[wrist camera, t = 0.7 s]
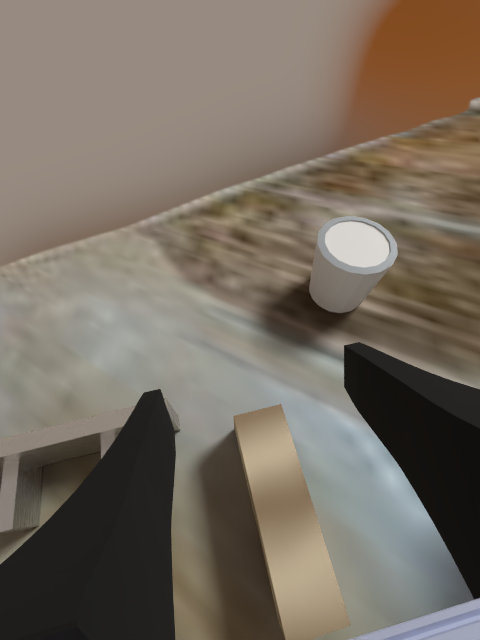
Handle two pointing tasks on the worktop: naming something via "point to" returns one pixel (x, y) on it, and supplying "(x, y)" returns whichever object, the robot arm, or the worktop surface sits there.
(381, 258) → the shot glass
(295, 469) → the maple rail
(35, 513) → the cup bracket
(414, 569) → the worktop surface
